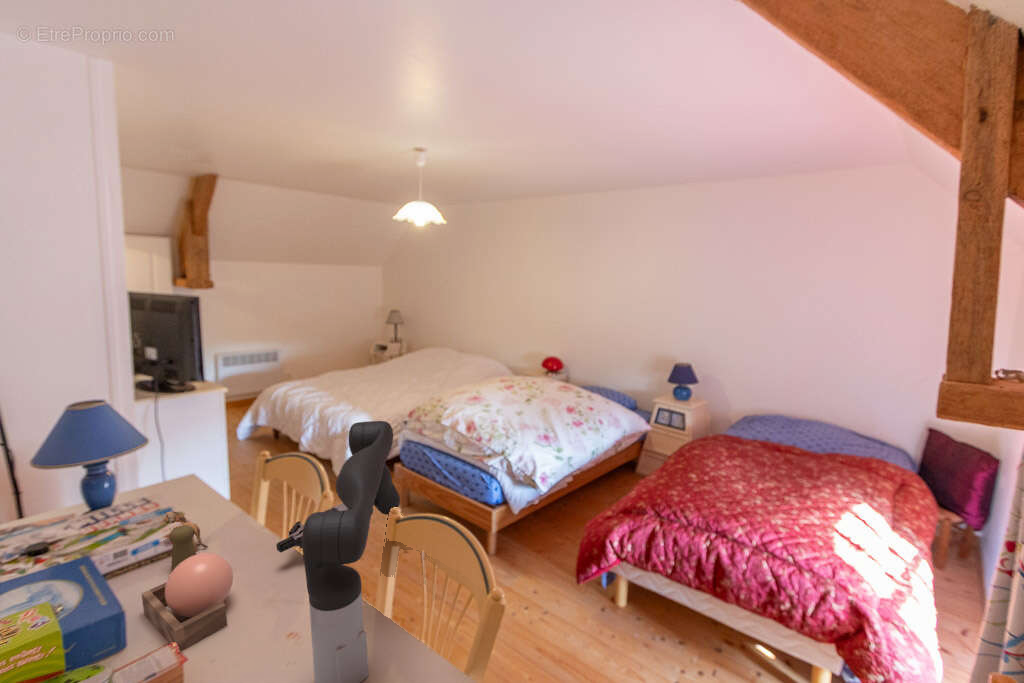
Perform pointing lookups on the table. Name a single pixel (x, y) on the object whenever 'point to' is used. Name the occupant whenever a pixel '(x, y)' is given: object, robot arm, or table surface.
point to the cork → (181, 544)
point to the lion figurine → (177, 517)
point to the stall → (187, 630)
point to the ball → (198, 584)
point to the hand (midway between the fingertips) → (278, 548)
